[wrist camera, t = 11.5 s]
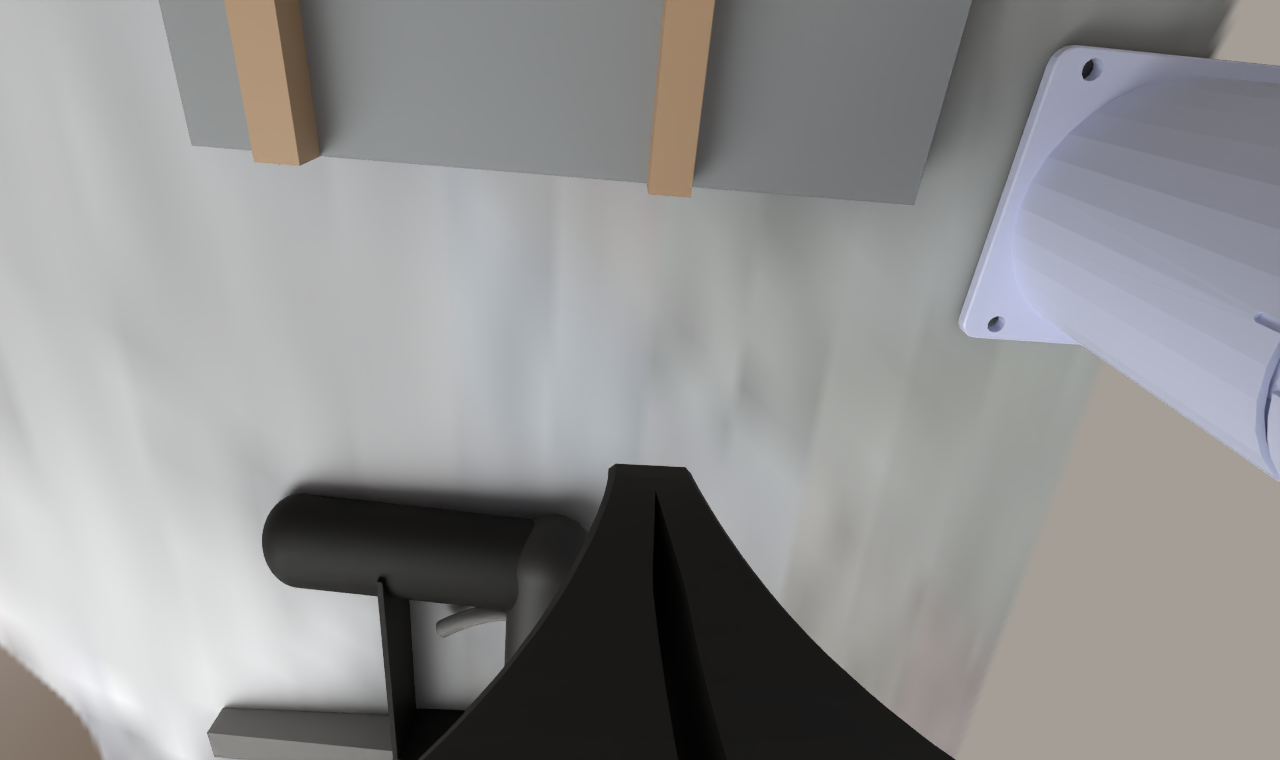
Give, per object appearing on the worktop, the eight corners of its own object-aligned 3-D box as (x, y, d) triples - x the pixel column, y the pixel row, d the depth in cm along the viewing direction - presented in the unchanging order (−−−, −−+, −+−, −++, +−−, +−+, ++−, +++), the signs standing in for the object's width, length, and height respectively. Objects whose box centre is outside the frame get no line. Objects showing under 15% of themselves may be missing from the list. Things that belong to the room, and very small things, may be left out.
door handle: (227, 850, 30) (579, 883, 30) (115, 509, 20) (628, 565, 21) (266, 777, 33) (585, 808, 33) (183, 448, 23) (632, 499, 24)
